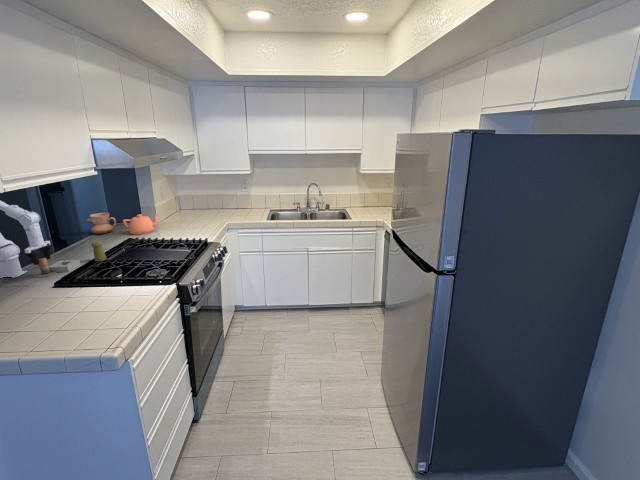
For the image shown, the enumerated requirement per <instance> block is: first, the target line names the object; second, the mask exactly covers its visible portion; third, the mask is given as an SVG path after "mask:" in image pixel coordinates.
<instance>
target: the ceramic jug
mask: <svg viewBox="0 0 640 480" xmlns="http://www.w3.org/2000/svg"><path fill="white" fill-rule="evenodd" d="M110 220H113V224H110V223H109V221H110ZM86 221H87V222H91V223H92V222H93V224H94V226H92V227H91V228H90V229H89V230H90V231H91V233H92V234H96V235H104V234H109V233H111V232H113V231H114V229H115V228H116V227H115V226H116V223H117V219H116V218H115V217H112V216H111V217H110V213H109V212H98V213H93V214H90V215H89V218H88V219H86Z"/></svg>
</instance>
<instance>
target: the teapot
mask: <svg viewBox="0 0 640 480" xmlns="http://www.w3.org/2000/svg"><path fill="white" fill-rule="evenodd" d="M158 215H160V213H157V214H155V215H154V217H153V219H151V217H149V216H147V215H143V214H141V213H139V214H137V215H136V216H134V217H132V218H131V219H127V218H126V219H123V220H122V224H123V225H124V226H126V228H128V232H129V233H130V234H131V235H133V236H141V235H147V234H151V233H153V232H154V231H155V229H156V227H157V225H158ZM127 222H129V224H128V223H127Z"/></svg>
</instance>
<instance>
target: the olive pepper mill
mask: <svg viewBox="0 0 640 480" xmlns="http://www.w3.org/2000/svg"><path fill="white" fill-rule="evenodd" d="M91 247H92V248H93V258H94V259H93V261H94V260H95V261H94V262H96V261H98V262H103V261H106V260H107V259H108V258H107V255H106V253H105V251H104V248H103V242H102V241H100V240H95V241H92V242H91Z"/></svg>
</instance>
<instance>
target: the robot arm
mask: <svg viewBox="0 0 640 480" xmlns="http://www.w3.org/2000/svg"><path fill="white" fill-rule="evenodd" d="M0 210H1V211H3V212H4V213H5V215H6V216H8V217H10V218H13V219H14V220H16V221H18V222H19V224H20V225H22V228H23V229H24V231H25V234H26V236H27V240H28V244H29V246H28V247H27V248H25V249H24V256H26V257H27V258H28V259H29V260H30V261H31V263H32V264H33V265H34V266H37V265H38V266H39V259H40V258H39V254H40V251H41V253H42V255H43V258H46V259H47V261H48V260H51V254H52V253H51V252H52V248H53V245H52V244H51V241H50V240H45V239H44V236H43V234H42V229H41V226H40V222H41V215H40V214H38V212H35V211H28V210H27V209H24V208H22V207H19V205H17V204H15V205H14V204H11V205H10V204H7V203H6V202H5V201H2V200H0ZM44 240H45V241H44ZM37 250H40V251H37ZM20 253H21V249H20V247H19V246H18V245H16V244H15V243H14V242H13V241H12V240H9V239H6V238H5V237H4V236H3V234H2V233H1V232H0V279H4V278H3V277H6V276H8V277H12V278H11V279H13V278H14V279H15V278H17V277H20V276H22V275H23V274H25V273H28V270H23V269H22V266H21V263H20V260H19V257H20Z"/></svg>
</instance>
